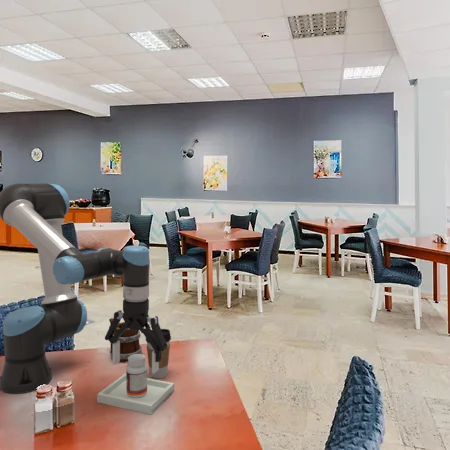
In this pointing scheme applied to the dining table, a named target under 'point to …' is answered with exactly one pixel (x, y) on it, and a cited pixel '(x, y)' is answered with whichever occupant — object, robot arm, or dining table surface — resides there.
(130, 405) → the tray
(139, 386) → the pill bottle
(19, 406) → the dining table surface
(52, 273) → the robot arm
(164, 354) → the coffee cup
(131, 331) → the mug
